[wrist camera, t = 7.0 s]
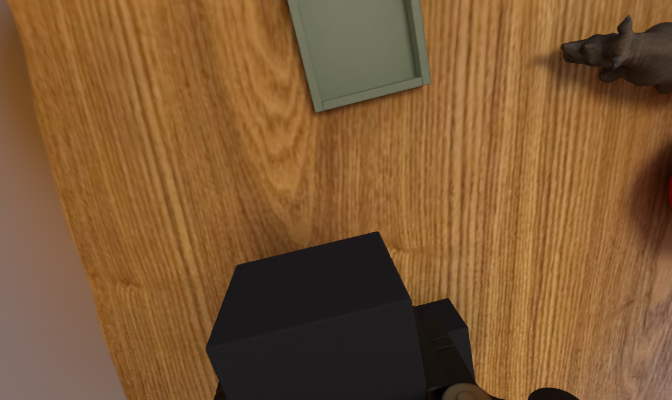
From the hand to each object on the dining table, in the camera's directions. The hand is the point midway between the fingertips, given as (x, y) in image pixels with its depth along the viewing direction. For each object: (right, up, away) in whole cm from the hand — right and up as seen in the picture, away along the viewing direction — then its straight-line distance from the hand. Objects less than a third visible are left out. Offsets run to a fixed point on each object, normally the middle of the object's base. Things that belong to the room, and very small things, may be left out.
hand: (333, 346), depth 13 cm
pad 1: (0, 0, 0) cm, 0 cm away
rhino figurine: (+21, +16, +14) cm, 30 cm away
